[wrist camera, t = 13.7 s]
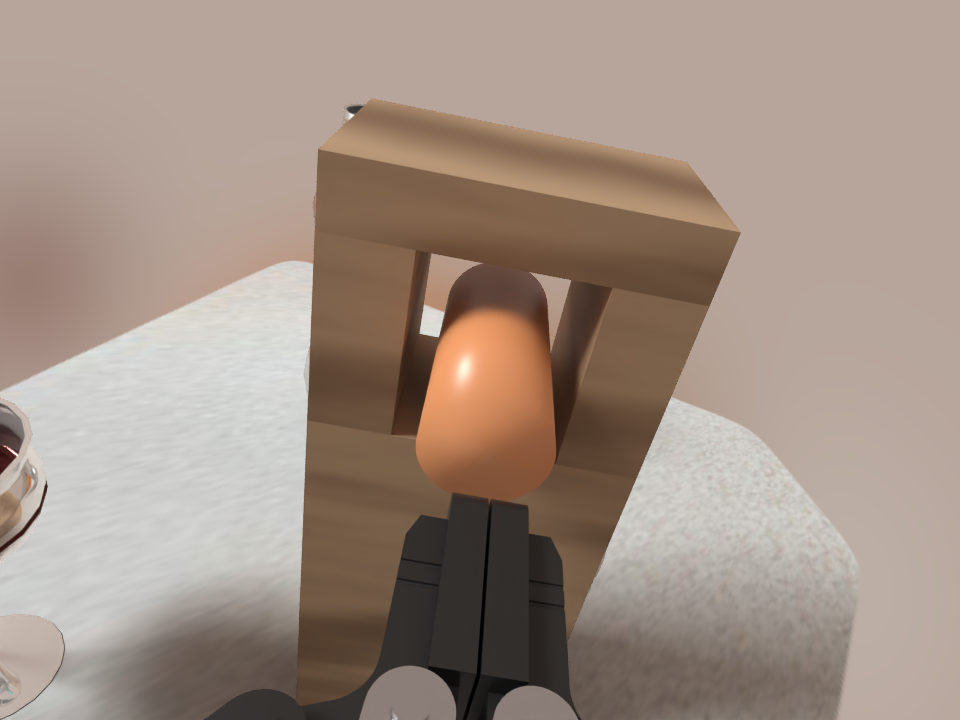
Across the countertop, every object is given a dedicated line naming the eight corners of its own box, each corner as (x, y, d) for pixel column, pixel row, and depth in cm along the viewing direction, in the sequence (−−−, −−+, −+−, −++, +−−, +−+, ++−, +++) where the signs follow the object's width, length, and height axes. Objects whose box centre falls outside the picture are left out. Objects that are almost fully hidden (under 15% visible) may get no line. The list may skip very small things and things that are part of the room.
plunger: (538, 513, 16) (571, 409, 14) (407, 489, 15) (425, 382, 14) (535, 358, 21) (558, 272, 20) (440, 341, 21) (455, 252, 20)
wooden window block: (532, 745, 28) (756, 235, 15) (295, 708, 28) (317, 149, 15) (531, 624, 33) (699, 164, 20) (331, 591, 33) (371, 98, 20)
